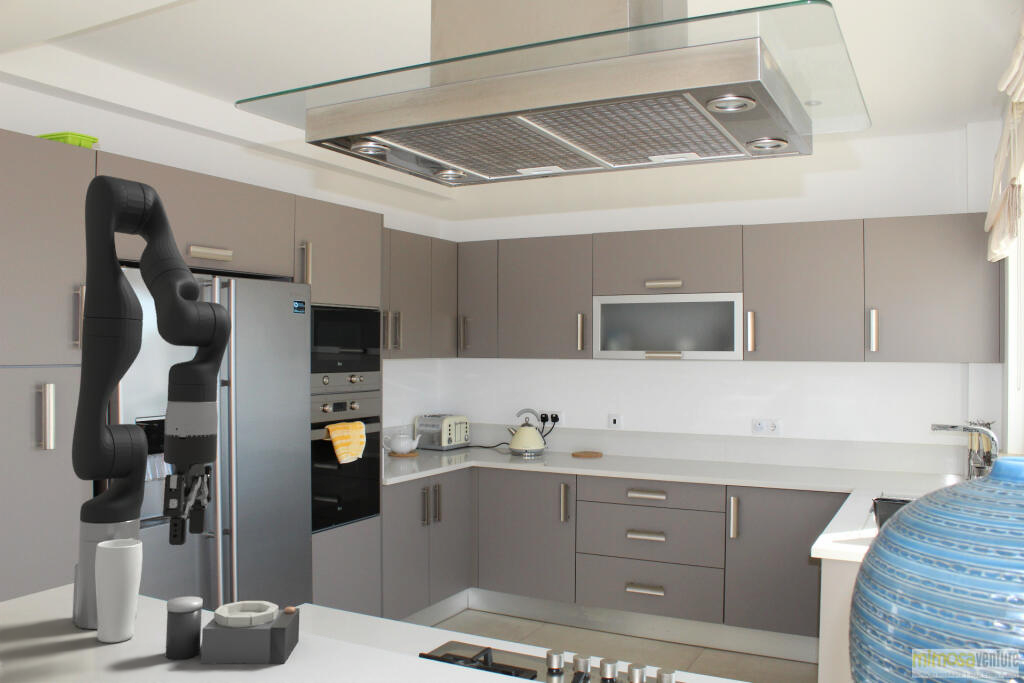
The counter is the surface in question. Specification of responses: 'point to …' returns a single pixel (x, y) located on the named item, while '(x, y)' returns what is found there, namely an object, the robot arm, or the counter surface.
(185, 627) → the dark capped cylinder
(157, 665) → the counter surface
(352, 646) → the counter surface
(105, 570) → the drinking glass
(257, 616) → the block with octagonal ring
